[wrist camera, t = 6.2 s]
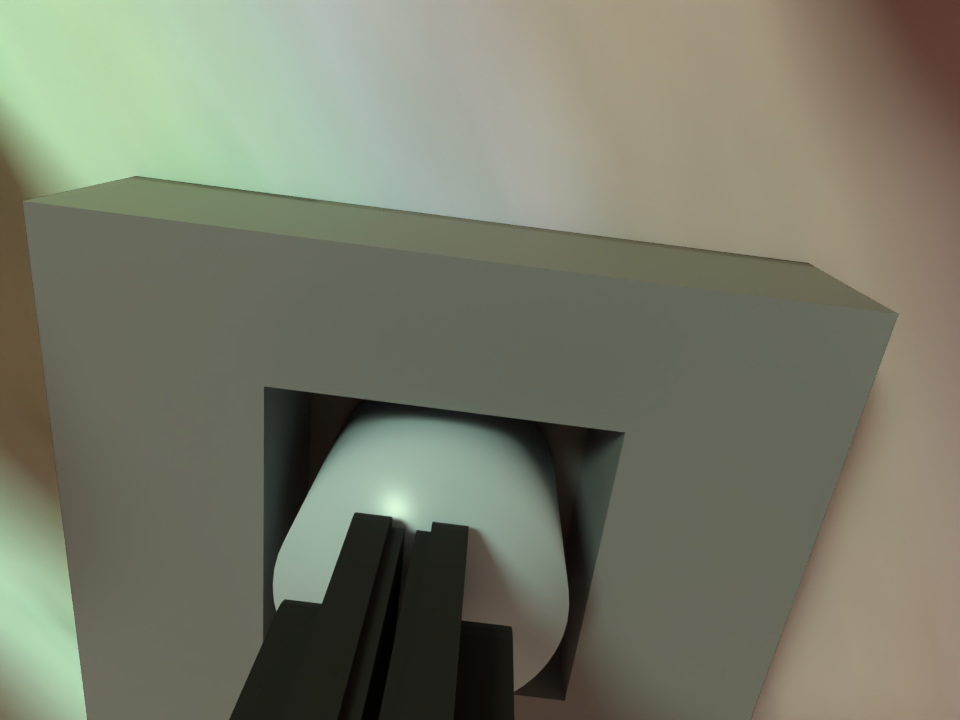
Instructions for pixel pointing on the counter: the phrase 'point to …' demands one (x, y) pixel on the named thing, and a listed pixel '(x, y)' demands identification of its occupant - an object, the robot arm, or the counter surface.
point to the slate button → (444, 514)
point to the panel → (443, 385)
